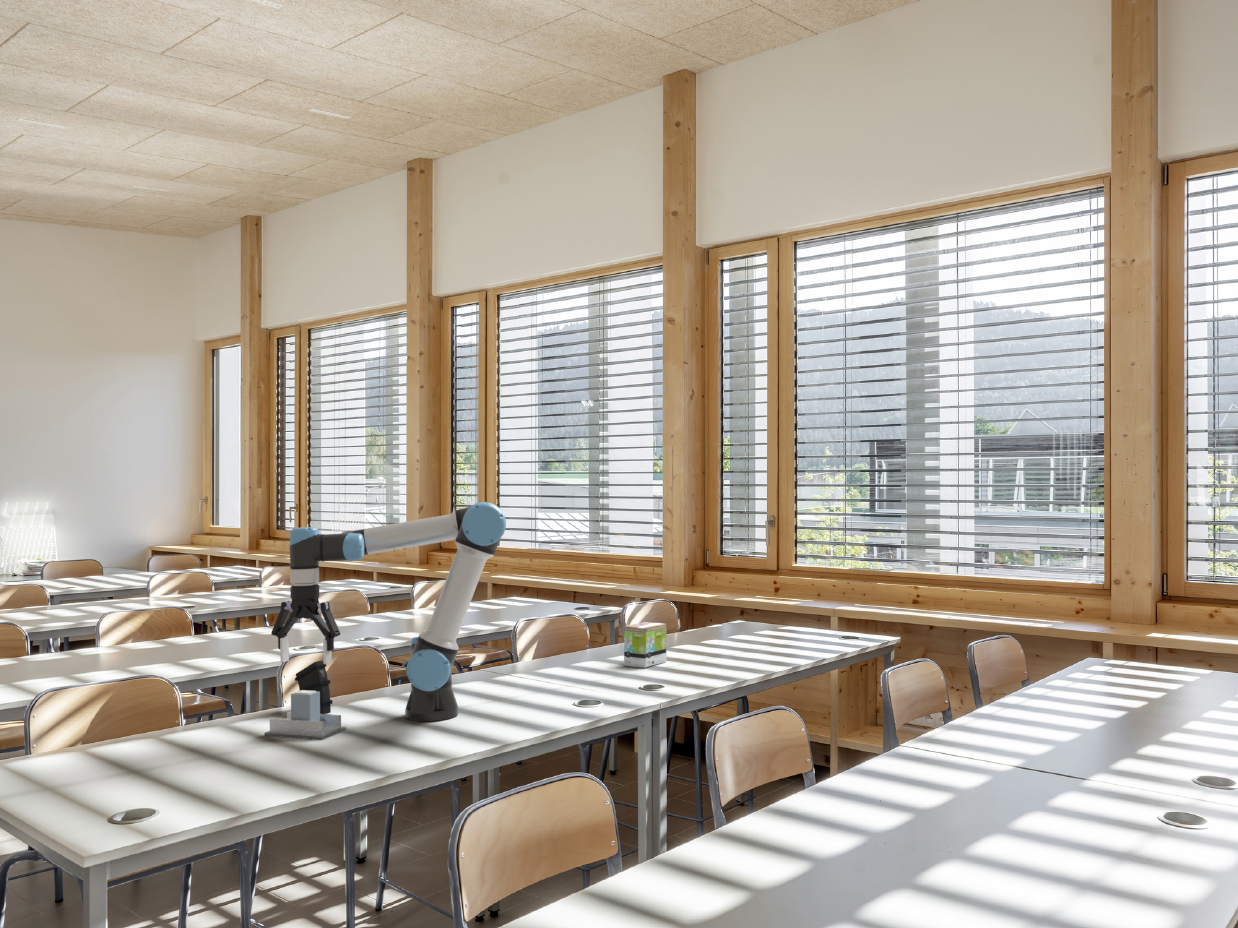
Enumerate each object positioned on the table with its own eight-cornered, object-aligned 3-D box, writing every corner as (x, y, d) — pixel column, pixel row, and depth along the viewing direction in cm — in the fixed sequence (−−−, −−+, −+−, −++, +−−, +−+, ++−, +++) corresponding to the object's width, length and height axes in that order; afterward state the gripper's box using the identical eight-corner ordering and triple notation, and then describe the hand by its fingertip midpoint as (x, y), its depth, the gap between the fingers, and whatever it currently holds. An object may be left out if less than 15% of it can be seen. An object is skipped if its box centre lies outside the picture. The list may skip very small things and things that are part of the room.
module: (320, 724, 263) (319, 690, 263) (310, 728, 259) (309, 693, 259) (301, 723, 265) (301, 689, 265) (291, 727, 260) (290, 692, 261)
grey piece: (345, 729, 264) (345, 713, 264) (322, 739, 254) (322, 723, 254) (289, 725, 270) (289, 710, 270) (264, 735, 259) (264, 719, 259)
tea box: (646, 668, 349) (646, 627, 350) (623, 666, 355) (622, 625, 355) (667, 661, 362) (666, 622, 362) (644, 659, 367) (644, 620, 368)
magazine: (328, 710, 281) (314, 661, 285) (303, 724, 288) (290, 676, 292) (339, 707, 284) (325, 659, 288) (314, 721, 291) (300, 674, 295)
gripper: (352, 582, 263) (353, 661, 262) (274, 582, 270) (276, 658, 270) (336, 585, 255) (337, 666, 255) (257, 585, 263) (258, 663, 262)
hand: (306, 662), depth 262 cm, fingers open, 13 cm apart
